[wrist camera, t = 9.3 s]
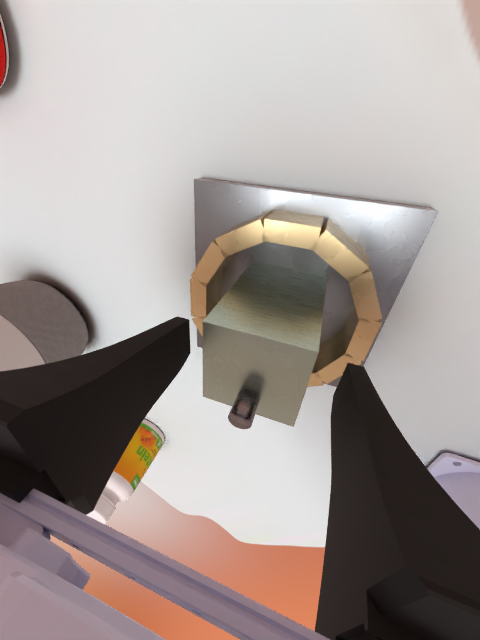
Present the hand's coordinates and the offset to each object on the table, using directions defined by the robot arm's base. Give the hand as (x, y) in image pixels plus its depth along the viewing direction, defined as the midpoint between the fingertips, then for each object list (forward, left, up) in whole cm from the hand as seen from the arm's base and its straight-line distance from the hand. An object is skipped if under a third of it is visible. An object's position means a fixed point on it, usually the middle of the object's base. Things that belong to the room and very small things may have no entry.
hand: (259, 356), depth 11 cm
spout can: (0, 0, -6) cm, 6 cm away
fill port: (0, 0, -7) cm, 7 cm away
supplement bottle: (+14, +24, -7) cm, 29 cm away
